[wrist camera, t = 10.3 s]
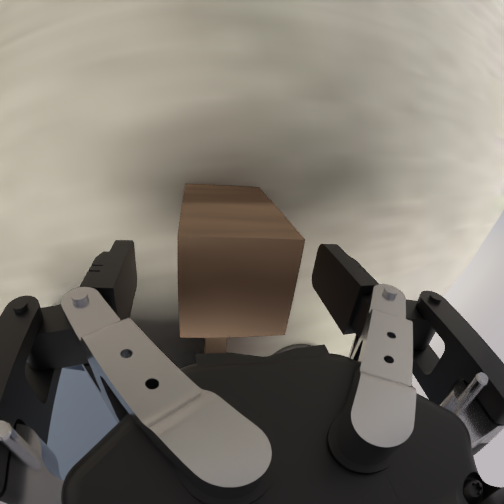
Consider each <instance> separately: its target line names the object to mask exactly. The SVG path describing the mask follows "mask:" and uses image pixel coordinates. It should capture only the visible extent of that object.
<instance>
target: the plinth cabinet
mask: <svg viewBox="0 0 504 504" xmlns="http://www.w3.org/2000/svg"><path fill="white" fill-rule="evenodd" d="M117 424H118V423H117V421H116V420H115V418H114V417H113V415H112V413H111V412H110V410H109V408H108V407H107V405H106V403H105V402H104V400H103V398H102V397H101V395H100V394H99V392H98V391H97V389H96V388H95V386H94V384H93V383H92V381H91V380H90V378H89V376H88V375H87V373H86V371H85V370H84V368H83V366H82V364H81V365H76V366H70V367H64V368H62V370H61V374H60V378H59V383H58V387H57V391H56V396H55V401H54V406H53V411H52V416H51V422H50V428H49V434H48V441H47V446H48V447H49V448H50V449H51V450H52V451H53V453H54V454H55V456H56V458H57V460H58V464H59V473H60V476H61V478H62V480H65V477H66V475H67V473H68V472H69V471H70V469H71V468H72V467H73V466H74V465H75V464H76V463H77V462H78V461H79V460H80V459H81V458H82V457H83V456H84V455H85V454H87V453H88V452H89V451H90V450H91V449H92V448H93V447H94V446H95V445H96V444H97V443H98V442H99V441H100V440H101V439H102V438H103V437H104V436H105V435H106V434H107V433H108V432H109V431H110V430H111V429H112V428H113V427H115V426H116V425H117Z"/></svg>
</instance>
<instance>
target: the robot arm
mask: <svg viewBox="0 0 504 504" xmlns="http://www.w3.org/2000/svg"><path fill="white" fill-rule="evenodd" d="M312 285H313V288H314V289H315V291H316V292H317V294H318V296H319V297H320V299H321V300H322V302H323V303H324V305H325V306H326V308H327V310H328V311H329V313H330V314H331V316H332V317H333V319H334V320H335V322H336V324H337V325H338V327H339V328H340V330H341V332H342V333H343V335H344V334H352V333H355V334H356V335H355V338H354V340H353V343H352V347H351V350H350V354H349V357H345V356H342V355H337V354H329V352H328V350H327V348H326V347H325V345H318V346H309V347H299V348H294V349H291V350H288V351H284V352H281V353H278V354H275V355H271V356H267V357H260V356H252V355H244V354H236V353H197V354H196V364H192V365H188V366H185V367H182V368H180V369H179V368H178V367H177V366H176V365H175V364H174V363H173V362H172V361H171V360H170V359H169V358H168V357H167V356H166V355H165V354H164V353H163V352H162V351H161V350H160V349H159V348H158V347H157V346H156V345H155V344H154V343H153V342H152V341H151V340H150V339H149V338H148V337H147V336H146V335H145V334H144V333H143V331H142V330H141V329H140V328H139V327H138V326H137V325H136V324H135V323H134V322H133V321H132V320H131V319H130V318H129V317H130V312H131V308H132V304H133V300H134V296H135V291H136V286H137V273H136V262H135V249H134V242H133V240H116V241H115V242H114V244H113V246H112V248H111V250H110V252H103V253H101V254H100V255H98V256H97V257H96V258H95V260H94V261H93V263H92V266H91V267H90V269H89V272H87V274H86V276H85V278H84V280H83V282H82V284H81V286H80V287H79V288H75V289H72V290H70V291H68V292H67V293H66V294H64V296H63V297H62V299H61V304H60V305H56V306H50V307H44V308H40V305H39V302H38V300H37V299H36V298H35V297H32V296H22V297H18V298H16V299H14V300H12V301H11V302H10V303H9V304H8V305H7V306H6V307H5V309H4V311H3V313H2V314H1V316H0V504H504V487H503V488H500V487H494V486H490V485H488V484H486V483H485V482H484V481H482V479H481V477H480V475H479V474H478V471H477V468H476V465H475V462H474V458H473V455H475V454H476V453H477V452H478V451H480V449H482V448H483V447H484V446H485V445H486V444H488V442H490V441H491V440H492V439H493V438H494V437H495V436H496V435H497V434H498V433H499V432H500V431H501V430H502V429H503V428H504V364H503V362H502V361H501V360H500V359H499V357H498V356H497V355H496V354H495V353H494V352H493V350H492V349H491V348H490V347H489V346H488V345H487V343H486V342H485V341H484V340H483V339H482V338H481V337H480V336H479V334H478V333H477V332H476V331H475V330H474V329H473V328H472V327H471V326H470V325H469V323H468V322H467V321H466V320H465V319H464V318H463V317H462V316H461V315H460V314H459V313H458V312H457V311H456V310H455V309H454V308H453V307H452V306H451V305H450V304H449V302H448V301H447V300H446V299H445V298H443V297H442V296H441V295H439V294H437V293H435V292H432V291H423V292H421V294H420V296H419V299H418V301H413V300H406V298H405V295H404V293H403V292H402V291H400V290H399V289H397V288H396V287H394V286H391V285H387V284H378V283H377V282H376V280H375V279H374V278H373V277H372V276H371V275H370V274H369V273H368V272H366V270H365V269H364V268H363V267H362V266H361V265H360V264H359V263H358V262H357V261H356V260H355V259H353V258H351V257H350V256H348V255H347V254H346V253H345V252H344V251H343V250H342V249H341V248H340V247H339V246H338V245H337V244H321V245H320V246H319V248H318V252H317V256H316V260H315V265H314V269H313V273H312ZM435 332H437V333H438V334H439V336H440V337H441V338H442V340H443V341H444V343H445V351H444V353H443V355H442V357H441V358H440V359H439V358H438V356H437V355H436V354H435V352H434V351H433V350H432V348H431V347H430V346H429V343H430V341H431V339H432V337H433V335H434V334H435ZM81 364H82V366H83V368H84V370H85V371H86V373H87V375H88V376H89V378H90V380H91V381H92V383H93V384H94V386H95V388H96V389H97V391H98V392H99V394H100V395H101V397H102V398H103V400H104V402H105V403H106V405H107V407H108V408H109V410H110V412H111V413H112V415H113V417H114V418H115V420H116V421H117V423H118V424H117V425H116V426H115V427H113V428H112V429H111V430H110V431H109V432H108V433H107V434H106V435H105V436H104V437H103V438H102V439H101V440H100V441H99V442H98V443H97V444H96V445H95V446H94V447H93V448H92V449H91V450H90V451H89V452H88V453H87V454H85V455H84V456H83V457H82V458H81V459H80V460H79V461H78V462H77V463H76V464H75V465H74V466H73V467H72V468H71V469H70V471H69V472H68V473H67V475H66V477H65V480H62V478H61V476H60V473H59V464H58V460H57V458H56V456H55V454H54V453H53V451H52V450H51V449H50V448H49V447H48V446H47V441H48V434H49V428H50V422H51V416H52V411H53V406H54V401H55V396H56V391H57V387H58V383H59V378H60V374H61V370H62V368H64V367H70V366H76V365H81ZM412 373H413V374H414V376H415V378H416V379H417V381H418V382H419V384H420V386H421V387H422V389H423V390H424V392H425V394H426V395H427V397H428V398H429V400H428V399H427V398H424V397H423V396H421V395H419V394H417V393H416V389H415V388H414V387H413V386H412Z"/></svg>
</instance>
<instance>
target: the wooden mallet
mask: <svg viewBox="0 0 504 504" xmlns="http://www.w3.org/2000/svg"><path fill="white" fill-rule="evenodd" d="M304 243H305V239H304V238H303V237H302V235H301V234H300V233H299V232H298V231H297V230H296V229H295V227H294V226H293V225H292V224H291V223H290V222H289V220H288V219H287V218H286V217H285V216H284V215H283V214H282V212H281V211H280V210H279V209H278V208H277V207H276V206H275V205H274V203H273V202H272V201H271V200H270V199H269V198H268V197H267V196H266V195H265V193H264V192H263V191H262V190H261V189H260V188H259V187H245V186H228V185H206V184H185V190H184V196H183V202H182V209H181V216H180V223H179V230H178V302H179V326H180V338H204V353H226V345H227V337H252V336H273V335H285V332H286V328H287V324H288V319H289V315H290V310H291V306H292V301H293V297H294V292H295V287H296V283H297V278H298V273H299V268H300V263H301V258H302V253H303V248H304Z"/></svg>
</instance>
